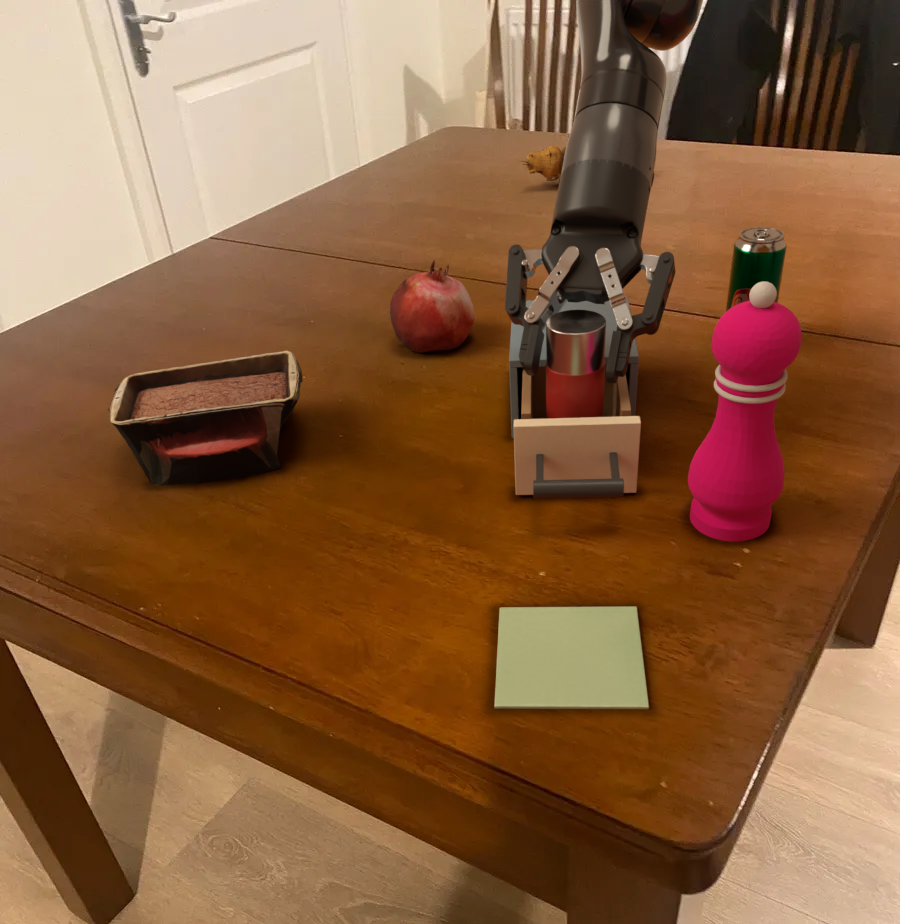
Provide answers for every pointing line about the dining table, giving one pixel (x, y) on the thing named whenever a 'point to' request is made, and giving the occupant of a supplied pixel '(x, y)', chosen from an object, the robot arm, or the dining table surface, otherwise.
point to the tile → (570, 658)
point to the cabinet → (517, 368)
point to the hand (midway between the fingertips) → (570, 375)
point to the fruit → (431, 311)
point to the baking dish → (208, 417)
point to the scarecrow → (546, 162)
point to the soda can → (756, 262)
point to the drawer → (576, 446)
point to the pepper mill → (744, 419)
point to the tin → (575, 364)
